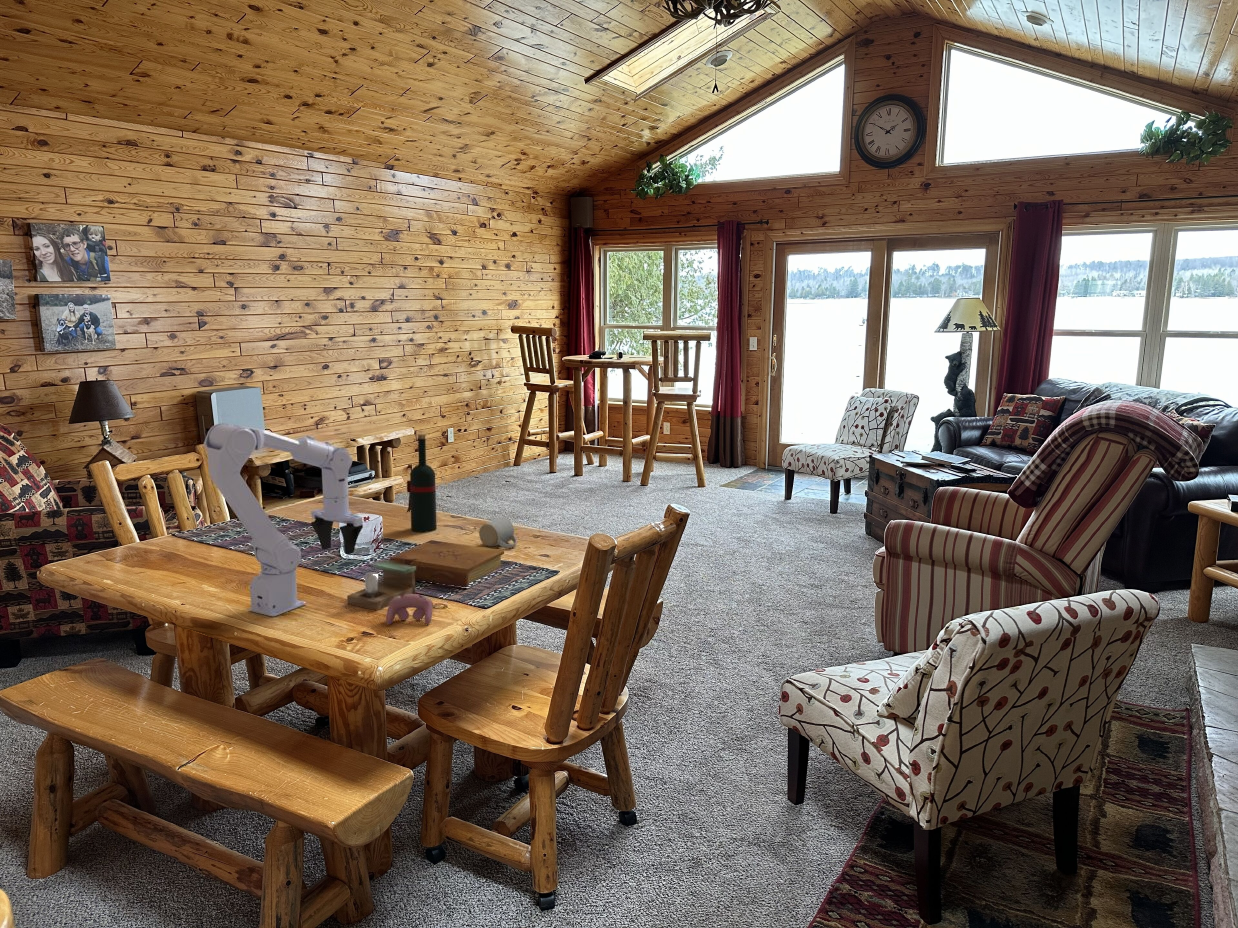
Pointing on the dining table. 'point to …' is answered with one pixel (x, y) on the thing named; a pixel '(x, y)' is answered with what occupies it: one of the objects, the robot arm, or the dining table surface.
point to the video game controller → (410, 601)
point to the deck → (387, 585)
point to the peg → (371, 585)
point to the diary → (450, 562)
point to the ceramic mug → (498, 533)
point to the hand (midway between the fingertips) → (337, 551)
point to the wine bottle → (422, 493)
